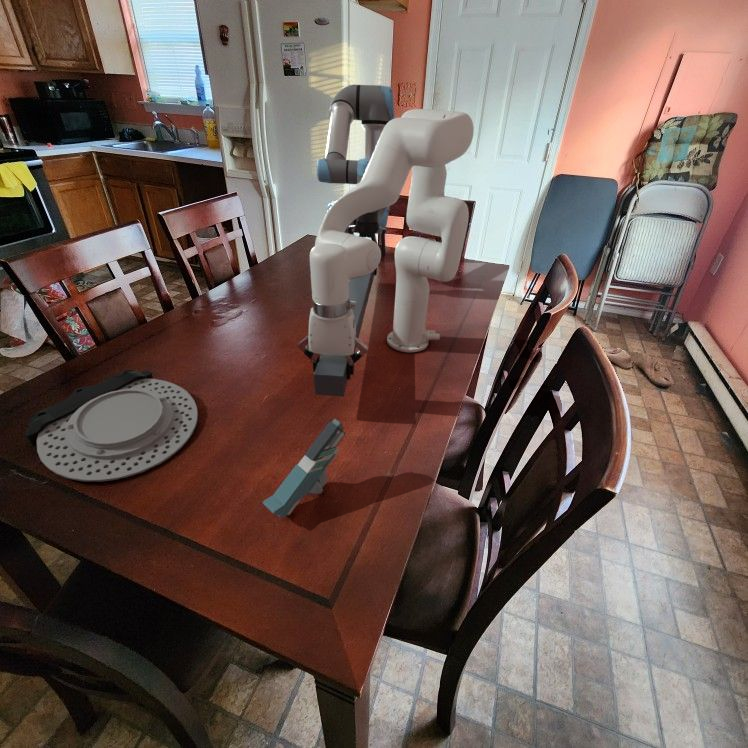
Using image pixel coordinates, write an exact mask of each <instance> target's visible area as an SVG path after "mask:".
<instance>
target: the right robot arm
mask: <svg viewBox="0 0 748 748" xmlns="http://www.w3.org/2000/svg"><path fill="white" fill-rule="evenodd" d="M474 131H475V130H474V121H473V119H472V117H471V116H470V115H469V114H468V113H467V112H464V111H454V110H443V109H442V110H440V109H430V108H429V109H428V108H414V109H409V110H407V111H405V112H404V113H403V114H402V115H401V117H394V119H392V120H390V121H389V122H388V123H387V124H386V125H385V127H384V129H383V131H382V133H381V136H380V138H379V140H378V143H377V145H376V147H375V150H374V152H373V154H372V157H371V159H370V162H369V164H368V166H367V168H366V171H365V173H364V176H363V178H362V180H361V181H360V183H359V184H355V186H353V187H351V188H350V189H349V190H347V191H346V192H345V193H344V194H342V195H341V196H340V197H339V198H338V199H337V200H335V201H336V202H335V203H334V204H333V205H332V206H331V207H330V209H329V210H328V212H327V211H326V214H325V215H324V218H323V220H322V222H321V224H320V227H319V229H318V232H317V235H316V237H315V241H314V242H315V243H314V246H313V247H312V248H311V250H310V252H309V269H310V270H309V271H310V284H311V285H310V286H311V298H312V299H311V300H312V307H311V308H310V313H309V320H308V334H307V335H306V336H305V337H304V338H302V339H301V340H300V341H298V343H297V348H298V349H299V350H300V351H301V352H302V353H303V354H304V355H305V356H306V357H307V358H308V359H309V360H310V362H311V363H312V370H313V373H314V372H315V369H316V367H317V364H318V361H319V359H320V356H321V354H328V355H342V356H345V358H346V360H347V380H348V381H350V380H351V376H353V375H354V374H355V364H356V363H357V362H358V361H360V360H361V358H363V356H365V355H366V354H367V353H368V352H369V347H368V346H367V345H366V344H365V343H364V342H363V341H361V340H360V339H359V338H356V326H355V318H354V313H353V310H352V308H356V302H352V301H351V300H350V297H349V280H350V279H352V278H357V277H362V276H365V275H368V274H370V273H371V272H373V271H374V270H375V269H376V268H377V269H378V267H379V266H378V265H379V263H380V264H381V258H382V257H381V253H382V250H381V247H380V246H379V244H378V245H377V244H376V243H375V242H374V241H372V240H371V238H368V237H359V235H355V234H354V235H352V234H348V233H344V232H345V230H346V228H347V227H348V226H349V224H350V223H351V222H352V221H354V220H355V219H356V218H358V217H359V216H361V215H363V214H366V213H368V212H372V211H375V210H378V209H381V208H385V207H388V206H389V207H390V206H393V205H394V204H395V203H397V202H398V200H399V198H400V195H401V193H402V191H403V188H404V187H405V186H404V185H405V184H406V181H407V178H408V176H409V174H410V171H411V179H410V187H409V194H408V202H407V207H406V216H405V219H406V220H405V222H406V225H407V227H408V228H409V229H410V230H412V231H415V232H418V233H422V234H426V235H430V236H435V237H440V238H441V241H436V240H433V239H431V238H430V239H429V238H426V237H420V236H414V235H413V236H412V235H410V236H405V237H403V238H401V239H400V240H399V241H398V242H397V244H396V246H395V250H394V267H395V277H396V279H395V297H394V309H393V325H392V331H391V332H389V333H388V334H387V336H386V342H387V344H388V346H389V347H390V348H391V349H394V350H395V351H398V352H402V353H417V352H421V351H424V350H425V349H427V347H428V346H429V341H430V340H432V341H440V339H441V334H440V333H436V331H435V330H434V329H432V330H428V329H426V324H427V323H426V322H427V315H428V308H429V298H430V284H429V280H428V279H430V280H434V281H437V282H443V283H448V282H450V281H452V280H453V279H454V277H456V274H457V272H458V269H459V266H460V263H461V258H462V254H463V250H464V249H463V248H464V244H465V240H466V235H467V230H468V225H469V216H470V215H469V214H470V213H469V206H468V204H467V203H466V202H465V200H463V199H461V198H458V197H453V196H448V195H445V188H446V182H447V167H446V166H447V164H450V163H451V162H453V161H455V160H457V159H459V158H461V157H462V156H463V155H465V153H467V151H468V150H469V149H470V146H471V144H472V140H473V138H474V133H475V132H474ZM355 346H356V349H357V351H355V354H354V348H355Z"/></svg>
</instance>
